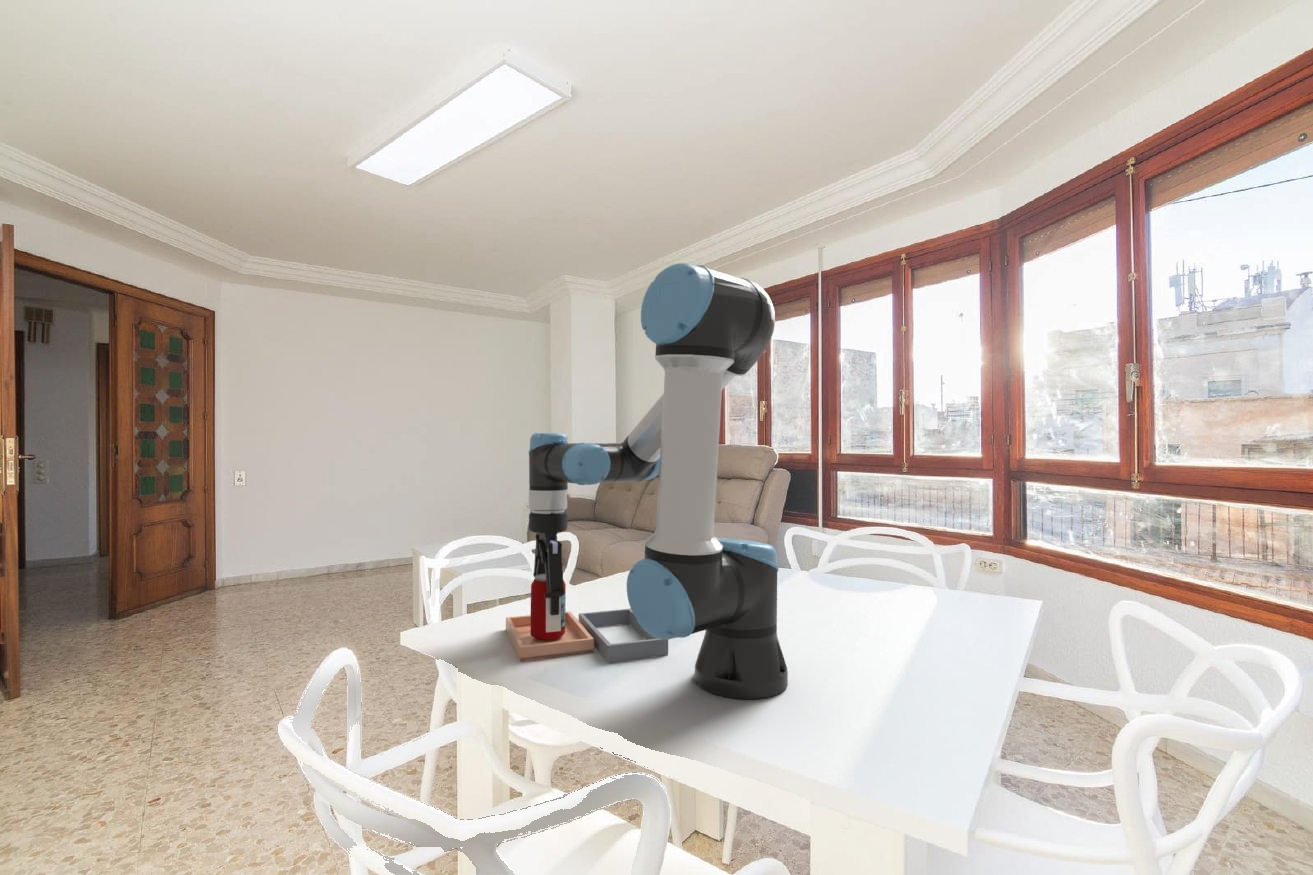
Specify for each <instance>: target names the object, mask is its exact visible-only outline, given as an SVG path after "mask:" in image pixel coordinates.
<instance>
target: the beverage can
mask: <svg viewBox="0 0 1313 875" xmlns="http://www.w3.org/2000/svg"><path fill="white" fill-rule="evenodd" d="M563 586H564V595H563V596H561V631H556V632H546V598H544V594H547V583H546V574H539V575H536V576H535V577H534V579H533V581H532V583H531V585H530V615H531V636H532V637H534V638H535V639H537V640H539V641H553V640H557V639H559V638H560V637H561V636H563V635H564V634H565V612H566V599H567V598H566V595H567V594H566V592H567V591H566V590H567V589H566V581H564V579H563ZM553 590H557V589H553Z"/></svg>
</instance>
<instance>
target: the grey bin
mask: <svg viewBox="0 0 1313 875" xmlns="http://www.w3.org/2000/svg"><path fill="white" fill-rule="evenodd" d="M578 621H579V622H580V623H581V625H582V626H583V627H584V628H585V629H586V630H587V632H588V633H589V634H590V635H591V636H592V637H593V638H594V649H596V651H597V652H598V653H599V655H601V657H602V658H603V659H604V660H605V661H606V663H607V664H610V663H618V662H626V661H632V660H633V661H634V660H639V659H649V658H654V657H655V658H656V657H663V656H668V655H669V639H666V640H664V639H659V638H656V637H654V636H652V635H650V634H649V633H648V632H646V631H645V630H644V629H643V628H642V627H641V625H640V624H639V623H638V621H637V619H636V617H635V615H634V614H633V612H632V610H631V607H629V608H622V609H614V610H613V609H612V610H601V611H592V612H591V611H590V612H583V613H578ZM618 625H629V626H631V628H632V629H634V630H635V631H636V632H637V633H639V635H641V637H642V638H644V639H642V640H633V641H624V642H618V643H617V642H616V643H610V641H609V640H607V638H606V637H605V636H604V635H603V634H602V633H601V632H600V630H598V629H597V628H602V627H609V626H611V627H612V626H618Z"/></svg>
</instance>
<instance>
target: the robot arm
mask: <svg viewBox="0 0 1313 875" xmlns="http://www.w3.org/2000/svg"><path fill="white" fill-rule="evenodd" d="M640 324H641V328H642V330H644V334H645V336H646V337H647V338H648V339H649V340H650V341H651V342H652V343H654V344H655V353H654V355H655V356H654V358H655V360H656V362H657V363H658V364H659V365H660V366H661V368H663V371H664V379H663V380H664V381H663V382H664V383H663V392H662V395H661V396H660V397H659V399H657V400H656V402H655V403H654V404H653V405H652V407H651V408H650V409H649V410H648V411H647V412H646V413H645V415H644V416H643V418H642V419H640V421H639V422H638V423H637V424H636V426H634V427H633V429H632V430H631V432H630V433H629V434H628V436H626V438H624V440H623V441H622V442H620V443H619V442H618V443H611V442H610V443H608V442H607V443H603V442H602V443H599V442H598V443H595V442H594V443H593V442H577V443H576V442H574V443H573V442H572V443H569V439H568V435H567V434H566V433H560V432H558V433H556V432H555V433H554V432H551V433H550V432H546V433H545V432H543V433H541V432H540V433H538V432H536V433H533V434H532V435H531V436H530V439H529V450H528V471H529V472H528V479H529V480H528V481H529V482H528V483H529V484H528V486H529V489H528V509H529V510H530V511H531V512H530V511H529V512H530V513H528V530H529V531H530V532H532V533H535V550H534V551H535V553H534V566H533V577H534V578H535V576H536V575H539V574H546V583H547V594H544V598H546V632H556V631H561V596H563V595H564V586H563V580H564V574H563V573H564V572H563V558H562V557H563V556H562V554H563V553H562V551H563V550H562V547H563V544H562V541H560V540H558V536H557V535H558V533H563V532H566V531H567V529H568V513H567V511H565V510H567V509H568V499H570V498H571V494H570V493H568V488H569V487H568V483H569V484H575V485H578V486H592V485H597V484H599V483H601V484H602V483H615V482H616V483H619V482H622V483H623V482H635V483H637V482H638V483H639V482H640V483H641V482H643V481H648V480H652V479H654V478H655V477H657V476H658V490H657V492H658V493H657V508H656V509H657V510H656V512H657V513H656V526H655V527H656V528H655V531H654V533H652V534H651V535H650V536H649V537H647V539H646V540H645V544H644V545H645V546H644V558H643V559H641V560H639V561H637V562H636V563H634V564H633V566H632V568H630V570H629V572H628V575H627V578H626V596H627V601H628V604H629V608H631V610H632V612H633V614H634V615H635V617H636V619H637V621H638V623H639V624H640V625H641V627H642V628H643V629H644V630H645V631H646V632H648V633H649V634H650V635H652V636H654V637H656V638H659V639H664V640H666V639H668V640H672V639H677V638H681V639H683V638H687V637H689V636H690V635H693V634H697V633H699V632H704V631H705V634H704V635H703V639H702V641H701V642H702V643H701V644H700V645H701V646H700V648H699V652H698V654H697V658H696V660H695V664H694V680H695V682H696V684H697V685H698V686H699V687H700V688H701V689H704V690H705V691H707V692H709V693H712V694H715V695H716V696H717V695H718V696H722V697H727V698H732V699H747V700H748V699H749V700H750V699H751V700H753V699H754V700H755V699H763V698H769V697H772V696H776V695H779V694H781V693H782V692H784V691H785V690H786V689H787V688H788V683H789V682H788V681H789V680H788V678H789V677H788V676H789V674H788V673H789V672H788V667H787V663H786V660H785V657H784V653H783V650H782V648H781V645H780V642H779V638H778V630H777V629H778V625H777V624H778V572H779V567H778V556H777V551H776V549H775V548H774V546H772V545H771V544H769V543H765V542H759V541H753V540H747V539H746V540H745V539H738V538H737V539H736V538H728V537H716V536H715V532H714V531H715V517H716V516H715V513H716V497H717V483H718V482H717V481H718V465H719V464H718V462H719V447H720V446H719V445H720V430H721V429H720V428H721V415H722V414H721V412H722V411H721V410H722V396H723V394H722V392H723V390H724V389H725V387H726V386H727V385H728V384H729V383H730V382H731V381H732V380H734V379H735V377H742V376H745V375H746V374H747V373H748V372H749V371H750V369H752V367H753V366H754V365H755V364H756V363H757V362H758V361H759V360H760V359H761V357H762V356H763V354H764V353H765V351H766V349H767V347H769V344H770V342H771V339H772V336H773V334H774V331H775V324H776V316H775V308H774V304H773V303H772V300H771V298H770V296H769V294H768V293H767V292H766V291H765V289H764V288H763V287H761V286H760V285H759V284H758V283H756V282H755V281H753V280H750V279H746V278H743V277H738V276H734V275H731V274H727V273H724V272H722V271H717V270H715V269H712V268H708V267H707V266H704V265H700V264H698V265H694V264H689V263H685V262H684V263H683V262H680V263H674V264H671V265H669V266H667V267H665V268H664V269H662V270H661V271H660V272H659V273H658V274H656V276H655V278H654V280H653V281H652V282H650V284H649V285H648V288H647V289H646V291H645V294H644V296H643V298H642V305H641V308H640ZM553 589H557V590H553Z"/></svg>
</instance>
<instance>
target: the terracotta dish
mask: <svg viewBox="0 0 1313 875" xmlns="http://www.w3.org/2000/svg"><path fill="white" fill-rule="evenodd" d="M505 631H506V633H507V636H508V638H509V640H510V642H511V645H512V647H513V649H514V652H515V654H516V657H517V658H518V661H519V662H520V661H521V662H528V661H527V660H529V661H536V659H537V660H542V659H552V658H558V657H559V658H560V657H567V656H575V655H583V654H593V653H594V652H595V647H594V638H593V637H592V636H591V635H590V634H589V633H588V632H587V630H586V629H585V628H584V627H583V626H582V625H581V623H580V622H579V619H577V618H576V616H575V615H574V614H573V613H572V612H571V611H565V634H564V635H563V636H561V637H560V638H559V639H557V640H553V641H539V640H537V639H535V638H534V637H532V636H531V614H529V615H519V616H510V617H509V616H506V617H505Z"/></svg>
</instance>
